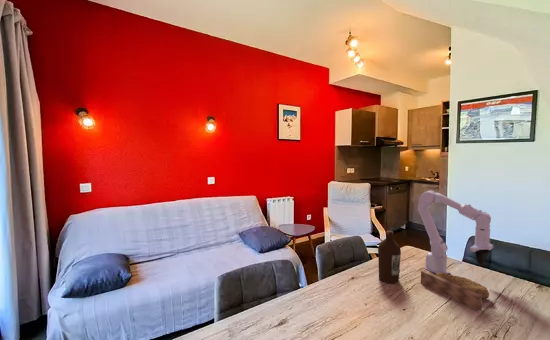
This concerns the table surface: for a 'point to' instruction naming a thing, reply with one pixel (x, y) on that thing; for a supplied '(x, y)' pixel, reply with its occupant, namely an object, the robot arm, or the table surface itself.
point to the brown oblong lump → (465, 284)
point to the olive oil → (389, 259)
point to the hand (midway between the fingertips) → (480, 263)
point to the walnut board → (452, 290)
